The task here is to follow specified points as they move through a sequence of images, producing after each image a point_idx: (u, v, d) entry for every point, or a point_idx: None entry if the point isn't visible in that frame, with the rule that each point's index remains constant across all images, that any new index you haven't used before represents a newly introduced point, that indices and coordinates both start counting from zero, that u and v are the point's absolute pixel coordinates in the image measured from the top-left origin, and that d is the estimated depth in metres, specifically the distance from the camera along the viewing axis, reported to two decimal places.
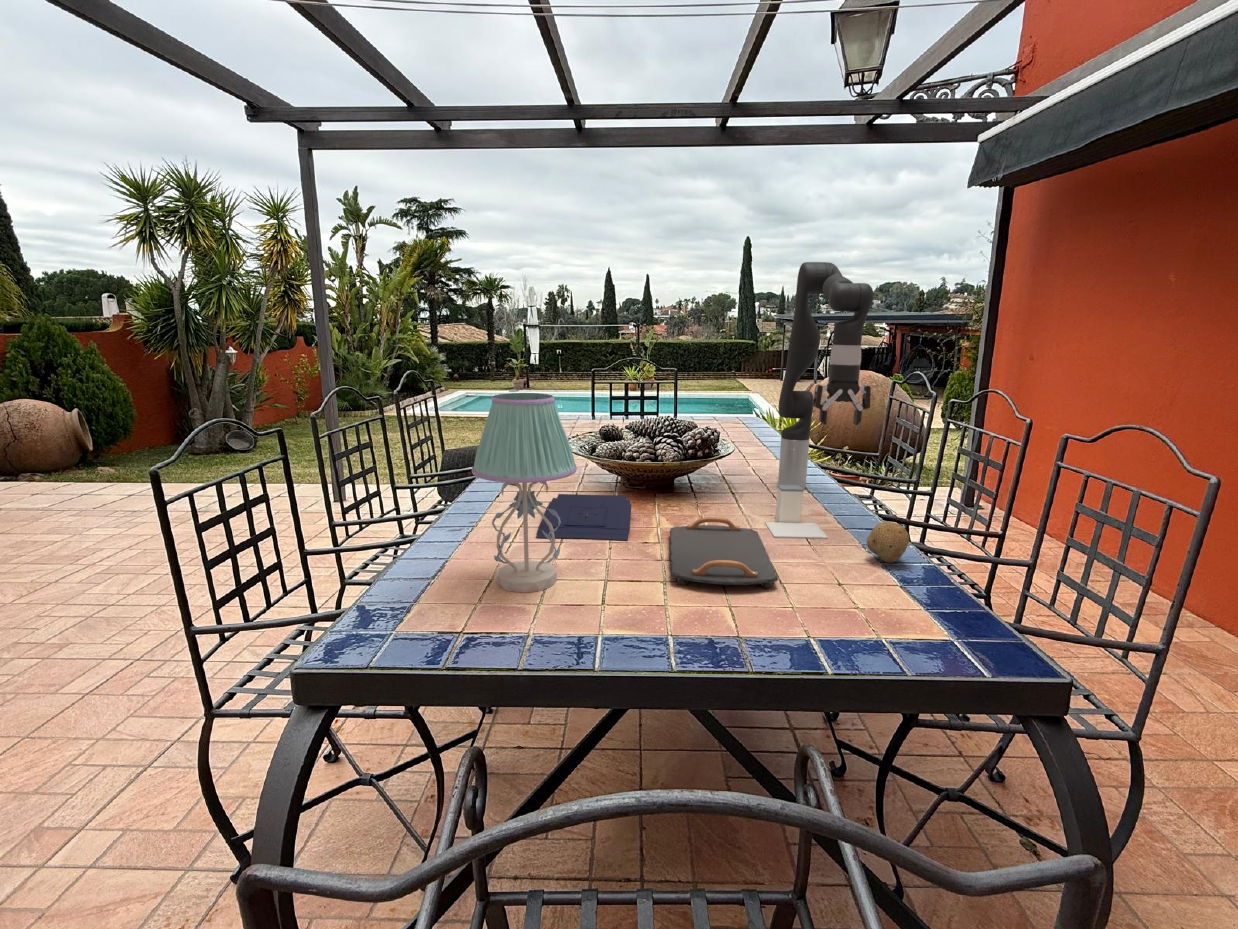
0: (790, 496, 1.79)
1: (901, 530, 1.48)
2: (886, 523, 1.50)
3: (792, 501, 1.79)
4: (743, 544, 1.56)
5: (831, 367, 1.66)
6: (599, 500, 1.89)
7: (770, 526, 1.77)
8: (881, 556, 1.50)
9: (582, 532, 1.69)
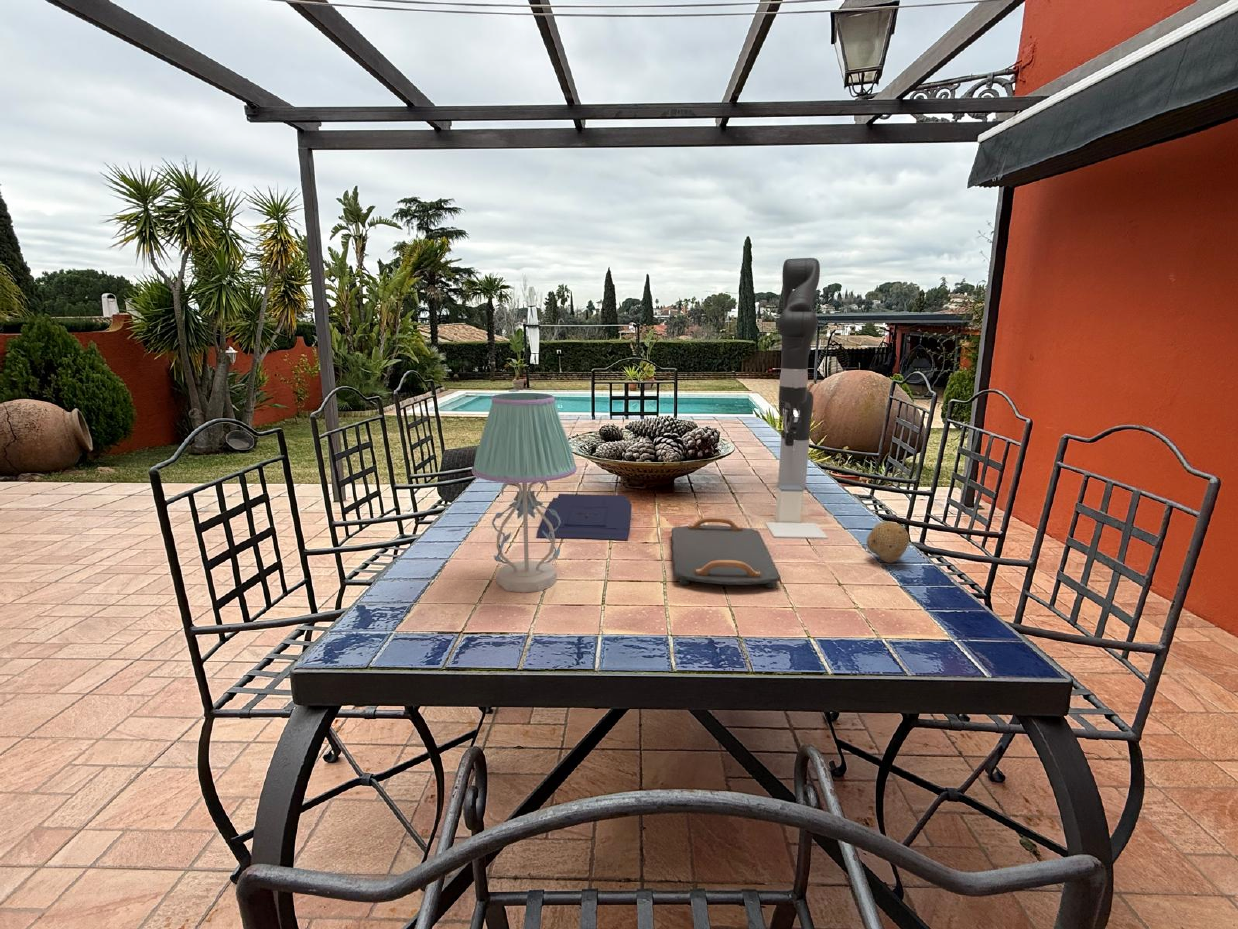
0: (790, 496, 1.79)
1: (901, 530, 1.48)
2: (886, 523, 1.50)
3: (792, 501, 1.79)
4: (745, 544, 1.56)
5: (798, 390, 1.76)
6: (599, 500, 1.89)
7: (770, 526, 1.77)
8: (881, 556, 1.50)
9: (582, 532, 1.69)
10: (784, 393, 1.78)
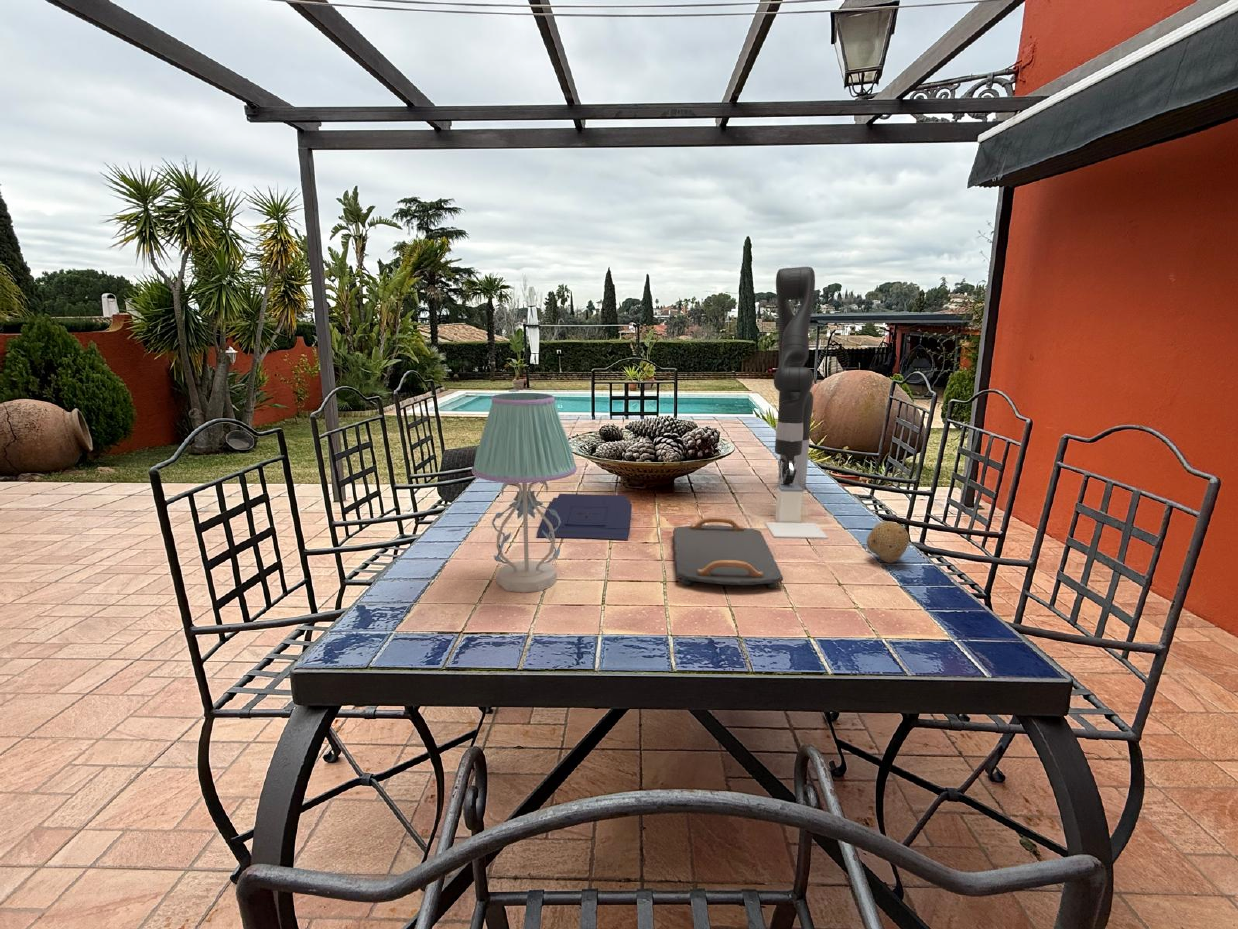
0: (790, 496, 1.79)
1: (901, 530, 1.48)
2: (886, 523, 1.50)
3: (792, 501, 1.79)
4: (747, 544, 1.56)
5: (794, 444, 1.80)
6: (600, 500, 1.89)
7: (770, 526, 1.77)
8: (881, 556, 1.50)
9: (582, 531, 1.69)
10: (780, 446, 1.82)
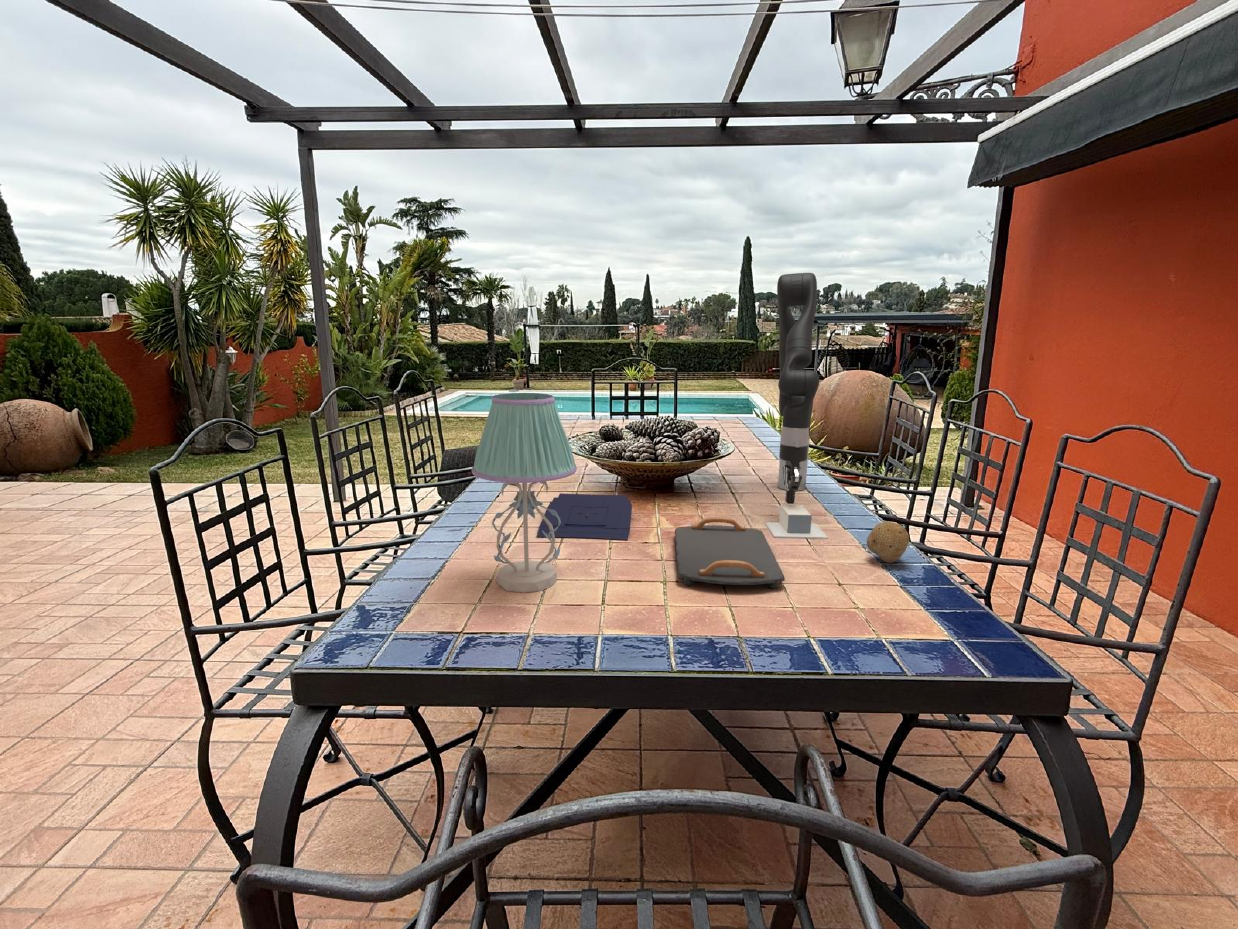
0: None
1: (901, 530, 1.48)
2: (886, 523, 1.50)
3: None
4: (748, 544, 1.56)
5: (799, 449, 1.74)
6: (600, 500, 1.89)
7: (770, 526, 1.77)
8: (881, 556, 1.50)
9: (582, 531, 1.69)
10: (784, 452, 1.76)
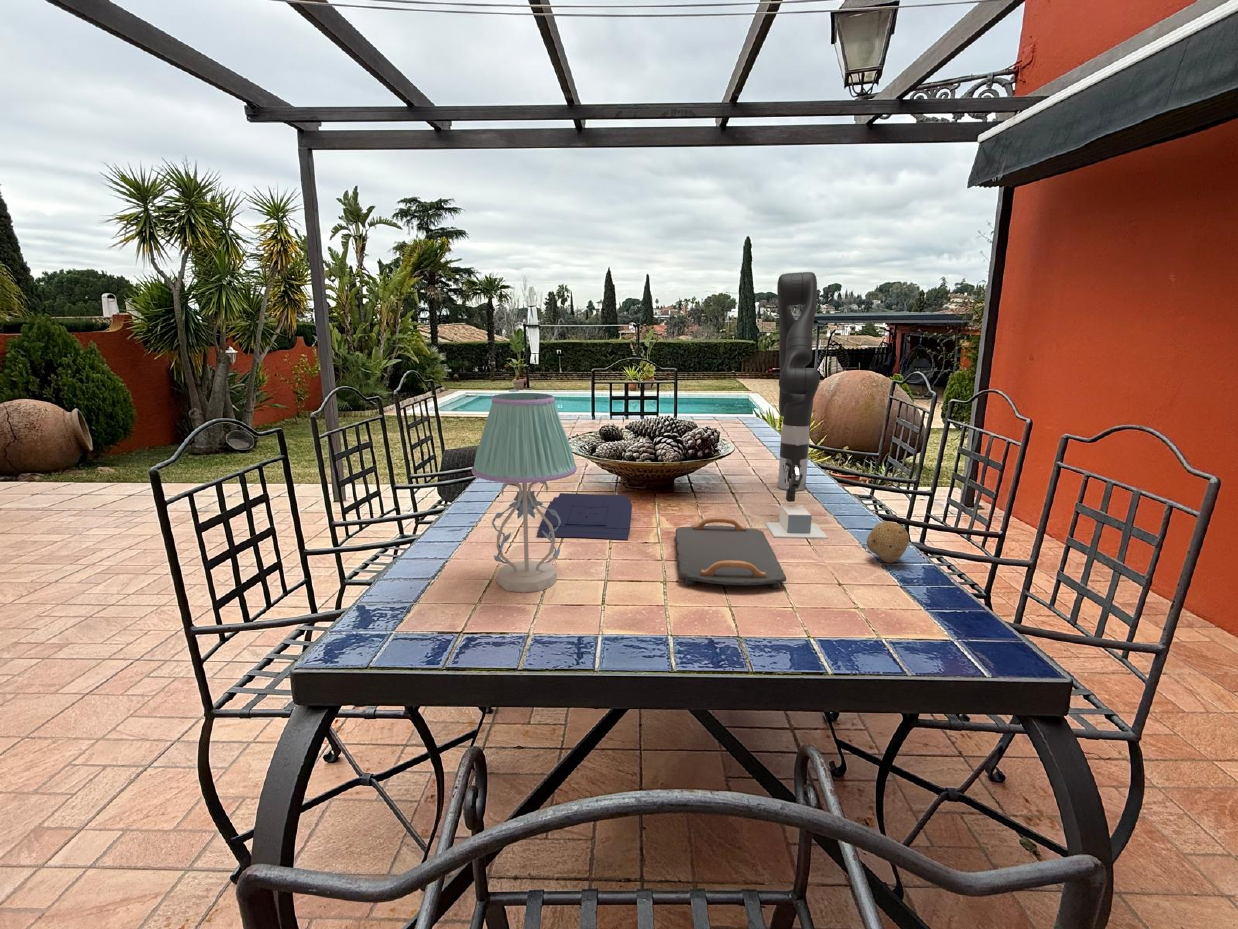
0: None
1: (901, 530, 1.48)
2: (886, 523, 1.50)
3: None
4: (749, 544, 1.56)
5: (800, 447, 1.74)
6: (600, 499, 1.89)
7: (770, 526, 1.77)
8: (881, 556, 1.50)
9: (582, 531, 1.69)
10: (785, 450, 1.75)
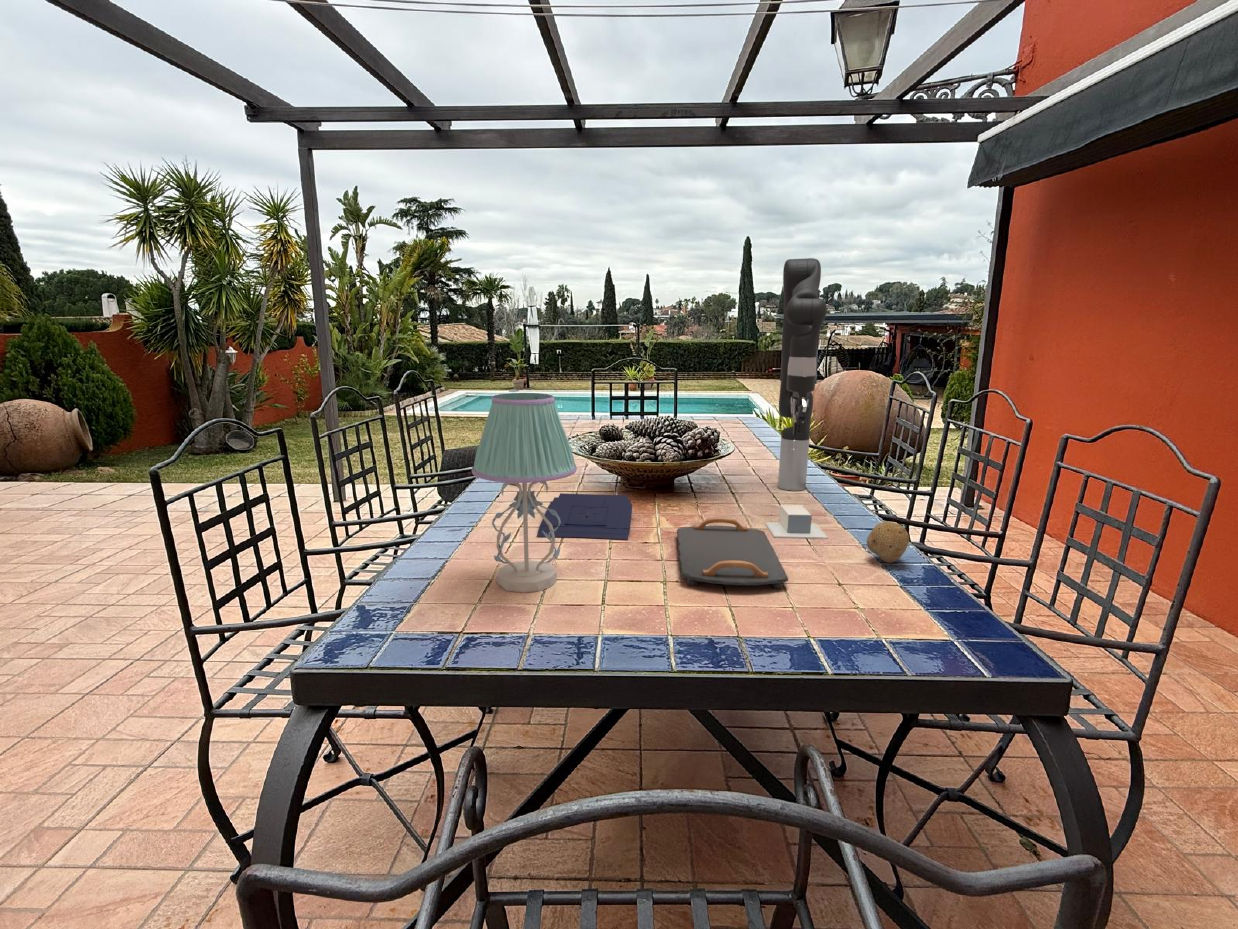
0: None
1: (901, 530, 1.48)
2: (886, 523, 1.50)
3: None
4: (751, 544, 1.56)
5: (807, 379, 1.73)
6: (600, 500, 1.89)
7: (770, 526, 1.77)
8: (881, 556, 1.50)
9: (582, 531, 1.70)
10: (792, 382, 1.74)
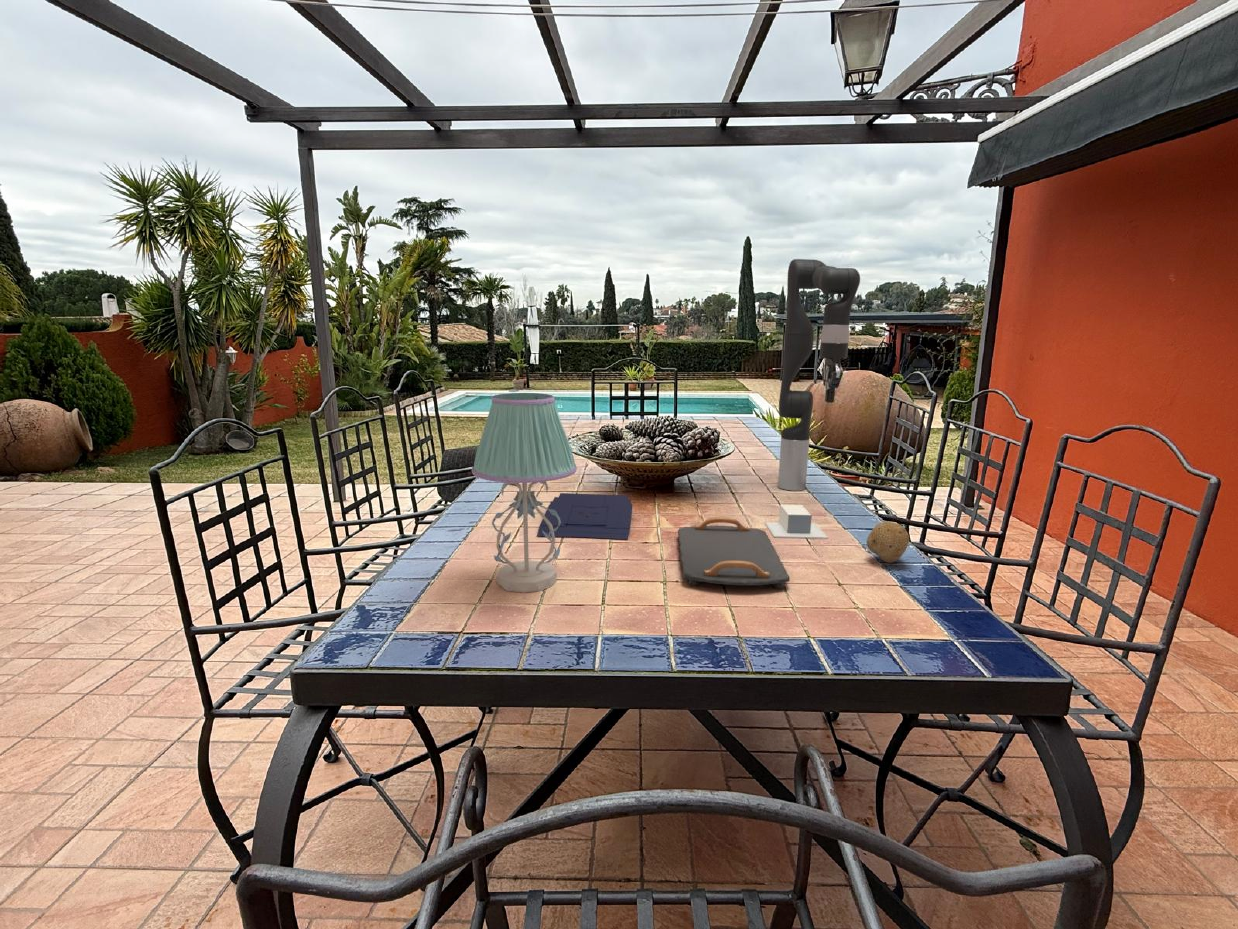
0: None
1: (901, 530, 1.48)
2: (886, 523, 1.50)
3: None
4: (752, 544, 1.56)
5: (840, 346, 1.78)
6: (600, 499, 1.89)
7: (770, 526, 1.77)
8: (881, 556, 1.50)
9: (582, 531, 1.70)
10: (825, 349, 1.80)
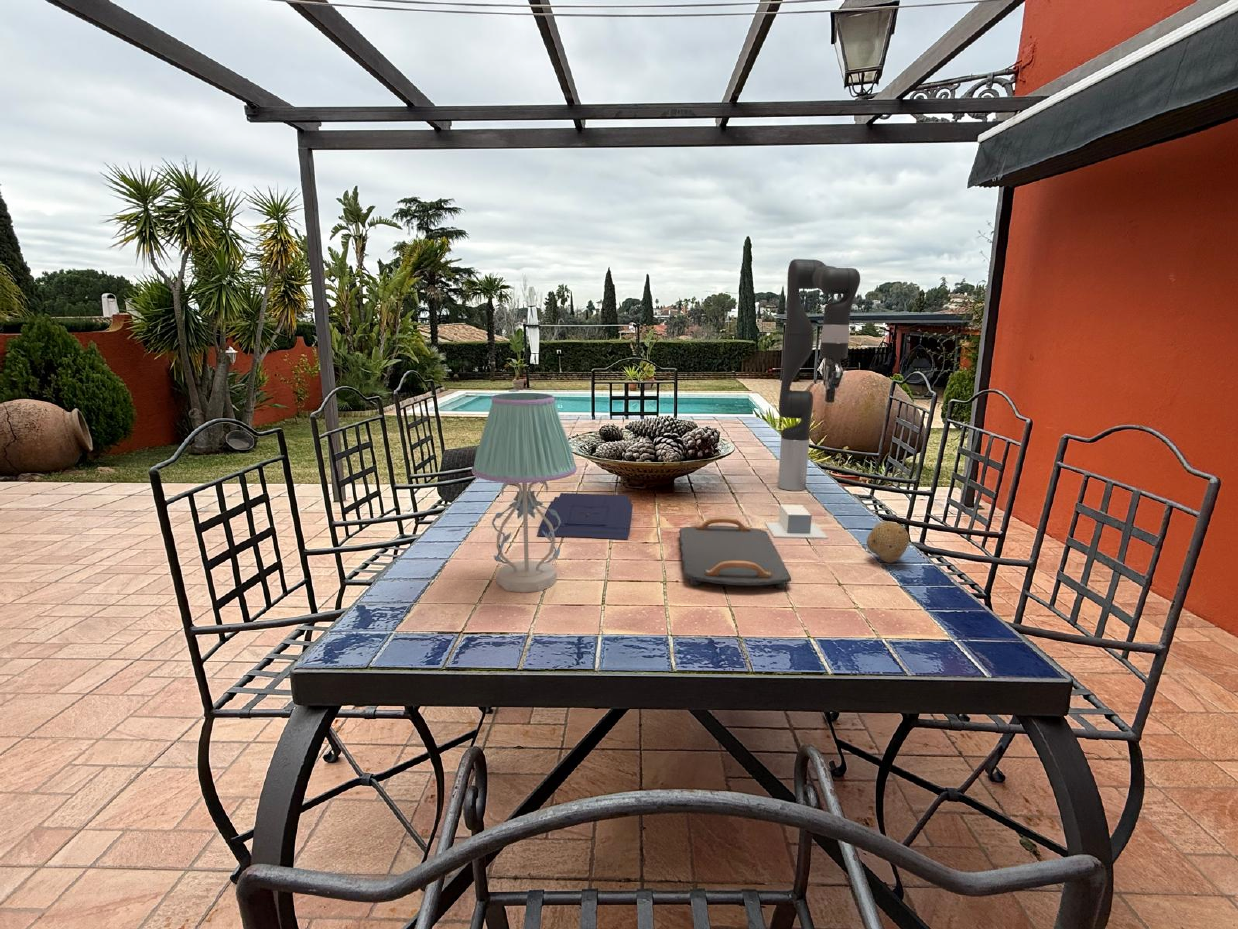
0: None
1: (901, 530, 1.48)
2: (886, 523, 1.50)
3: None
4: (753, 544, 1.56)
5: (840, 346, 1.78)
6: (601, 499, 1.90)
7: (770, 526, 1.77)
8: (881, 556, 1.50)
9: (583, 531, 1.70)
10: (825, 349, 1.80)
